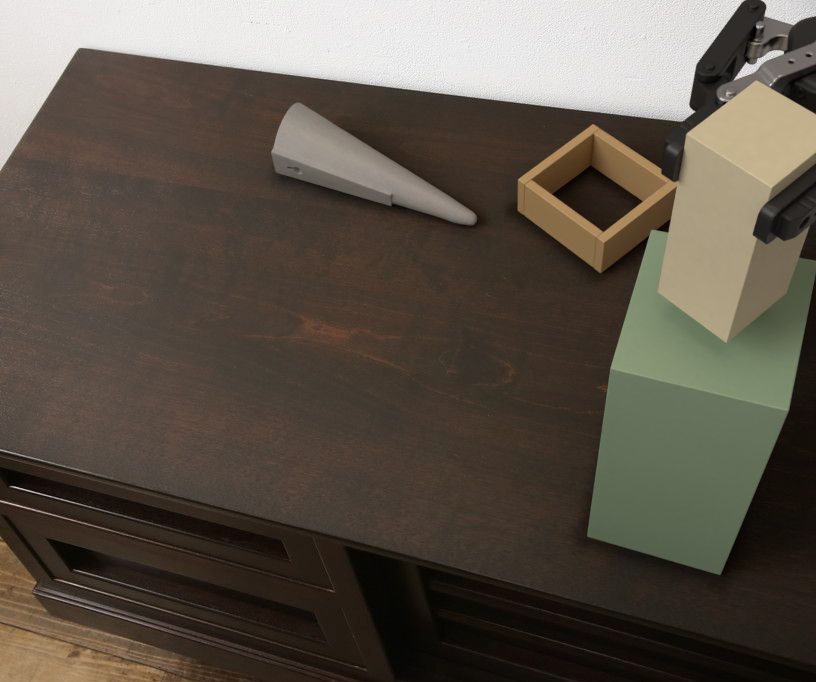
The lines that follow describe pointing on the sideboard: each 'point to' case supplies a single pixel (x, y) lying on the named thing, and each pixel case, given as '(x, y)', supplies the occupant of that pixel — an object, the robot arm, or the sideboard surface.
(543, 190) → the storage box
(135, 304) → the sideboard surface
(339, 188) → the grey tapered cone
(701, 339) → the stand
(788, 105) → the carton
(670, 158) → the robot arm
